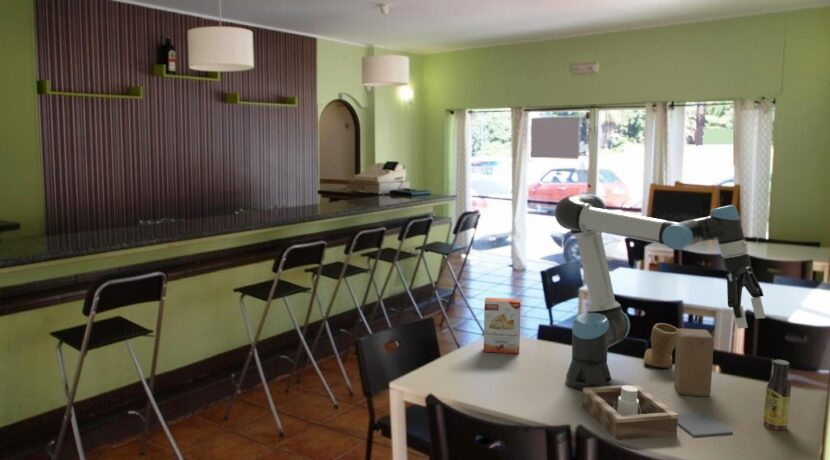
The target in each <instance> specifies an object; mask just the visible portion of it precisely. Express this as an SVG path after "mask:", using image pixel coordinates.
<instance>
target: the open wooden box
mask: <svg viewBox="0 0 830 460" xmlns="http://www.w3.org/2000/svg"><path fill="white" fill-rule="evenodd" d="M625 385H626V384H618V385H611V386H602V387H588V388H583V390H582V400H581V401H582V402H581V403H582V405H581V407H582V408H583V409H585V410H586V411H587V412H588V413H589V414H590V416H592V417H593V418H594V419H595V420H596V421H597V422H598V423H599V425H601V426H602V427H603V428H604V429H605V430H607V432H609V433H610V434H611V435H612V437H614V438H615V439H616V440H617V441H618V440H619V441H620V440H630V439H632V440H633V439H644V438H654V437H656V438H657V437H666V436H668V437H669V436H677V435H678V424H677V423H678V414H679V413H676V412H675V411H673V410H672V409H671V408H669V406H667V405H665V404H664V403H663V402H662V401H660V400H659V399H657V398H656V397H655V396H653V395H652V394H651V393H649V392H648V391H647V390H645V389H644V388H642V387H641V386H639V385H638V384H637V383H635V384H627V385H628V386H633V387H636V388H637V389H638V393H637V399H638V400H639V405H640V408H639V405H638V408H639V410H641V411H643V412H644V413H640V414H638V415H626V416H621V415H620V414H619V413H618V412H617V410H616V409H615V410H614V407H612V406H618V397H619V396H621V389H622V386H625ZM614 402H615V403H614Z"/></svg>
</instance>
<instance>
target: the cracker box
mask: <svg viewBox="0 0 830 460" xmlns="http://www.w3.org/2000/svg"><path fill="white" fill-rule="evenodd" d="M521 306H522V305H521V298H504V297H503V298H500V297H485V298H484V306H483V307H484V308H483V309H484V311H483V312H484V313H483V318H484V320H483V352H484V353H498V354H499V353H500V354H514V355H515V354H517V355H519V354H520V346H521V345H520V344H521V343H520V342H521V338H520V337H521Z"/></svg>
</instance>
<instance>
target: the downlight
mask: <svg viewBox="0 0 830 460" xmlns="http://www.w3.org/2000/svg"><path fill="white" fill-rule="evenodd" d="M624 385H625V386H622V389H621V396H619V397H618V405H617V408H616V409H617V410H616V409H615V407H613V409H614V410H615V411H617V412H618V413H619V414H620V415H621V416H626V415H639V414H638V411H640V413H642V409H640V405H639V400H638V399H637V393H638V389H637V388H636V387H633V386H628V385H629V384H624ZM614 403H615V402H614ZM638 405H639V407H638Z"/></svg>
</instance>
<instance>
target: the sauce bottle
mask: <svg viewBox="0 0 830 460" xmlns="http://www.w3.org/2000/svg"><path fill="white" fill-rule="evenodd" d="M772 365H773V369H772V375H771V377H770V379H769V380H768V383H767V385H766V389H765V398H764V400H765V401H764V408H763V416H762V417H763V418H762V419H763V425H764V426H765V427H767V428H769V429H771V430H774V431H778V430H779V431H785V430H786V429H787V427H788V426H787V425H788V421H789V412H790V410H789V409H790V404H791V403H790V402H791V392H792V391H791V389H792V386H791V383H790V380H789V379H788V378H789V377H788V376H789V375H788V373H789V368H790V362H789V361H787V360H783V359H775V360H773V364H772Z"/></svg>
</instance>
